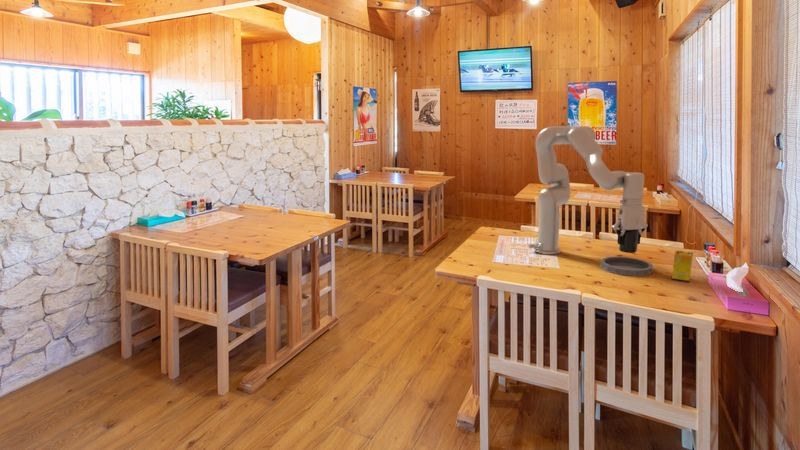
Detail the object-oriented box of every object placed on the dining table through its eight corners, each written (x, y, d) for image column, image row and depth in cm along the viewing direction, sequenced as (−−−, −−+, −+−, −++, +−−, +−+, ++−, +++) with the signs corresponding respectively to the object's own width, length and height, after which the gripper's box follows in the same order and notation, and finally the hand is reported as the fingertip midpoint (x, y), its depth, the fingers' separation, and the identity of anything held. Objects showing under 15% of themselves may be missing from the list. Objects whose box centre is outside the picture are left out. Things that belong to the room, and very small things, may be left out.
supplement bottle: (639, 253, 192) (641, 225, 189) (621, 252, 193) (623, 224, 191) (634, 249, 198) (636, 222, 196) (617, 248, 200) (619, 221, 197)
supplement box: (672, 276, 187) (675, 250, 185) (690, 278, 184) (693, 252, 182) (671, 280, 183) (674, 253, 180) (689, 282, 179) (692, 255, 177)
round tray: (619, 277, 186) (620, 271, 186) (591, 263, 206) (591, 258, 205) (663, 274, 190) (664, 268, 189) (631, 260, 209) (631, 255, 208)
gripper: (618, 204, 186) (615, 247, 190) (657, 202, 189) (653, 244, 193) (607, 201, 194) (604, 243, 197) (644, 200, 197) (640, 240, 200)
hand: (628, 243), depth 195 cm, fingers closed on supplement bottle, 6 cm apart
